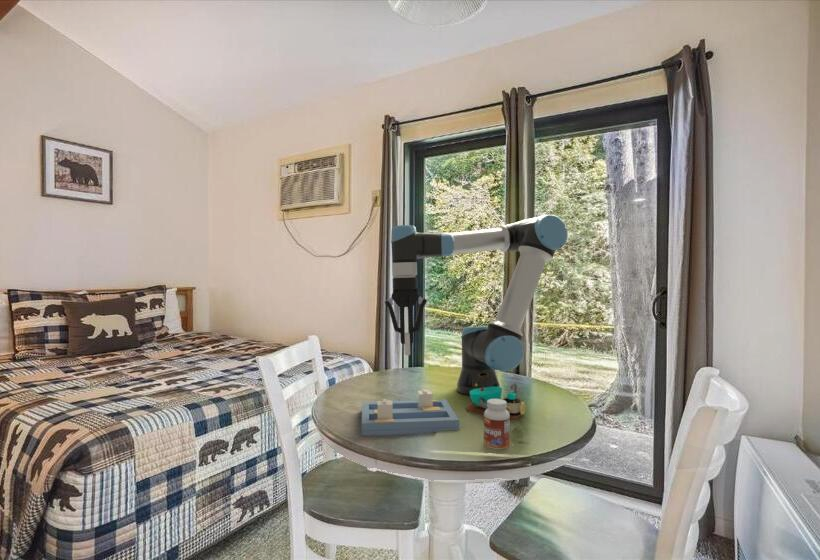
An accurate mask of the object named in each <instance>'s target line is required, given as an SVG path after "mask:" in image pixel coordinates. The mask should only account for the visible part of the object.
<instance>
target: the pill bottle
mask: <svg viewBox="0 0 820 560" xmlns="http://www.w3.org/2000/svg"><path fill="white" fill-rule="evenodd" d="M487 407H488V409H486V410H485V412H484V414H483V445H484V446H486V447H487V448H490V449H496V450H502V449H508V448H509V447H510V438H511V437H510V433H511V432H510V427H511V426H510V424H511V423H510V420H511V419H510V414H509V412H508V411H507V410H506V408H507V402H506V401H505V400H503V399H502V398H501V399H489V400H487Z"/></svg>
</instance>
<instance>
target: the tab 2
mask: <svg viewBox="0 0 820 560" xmlns="http://www.w3.org/2000/svg"><path fill="white" fill-rule="evenodd" d="M433 397H434V394H433V392H432V390H431V389H429V390H427V389H426V388H423V389H422V390H417V400H418V408H422V407H433Z"/></svg>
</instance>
